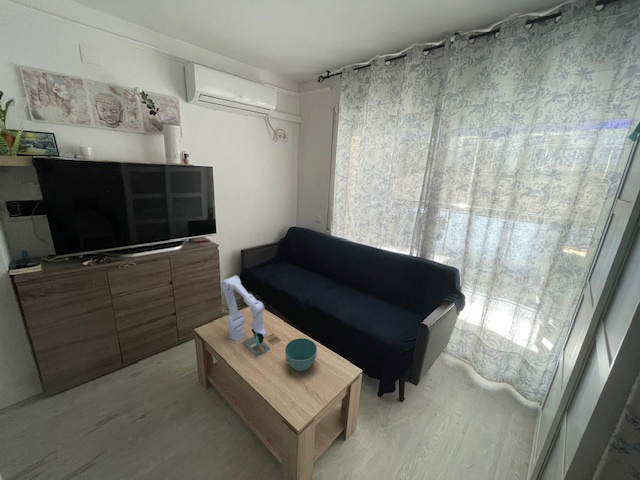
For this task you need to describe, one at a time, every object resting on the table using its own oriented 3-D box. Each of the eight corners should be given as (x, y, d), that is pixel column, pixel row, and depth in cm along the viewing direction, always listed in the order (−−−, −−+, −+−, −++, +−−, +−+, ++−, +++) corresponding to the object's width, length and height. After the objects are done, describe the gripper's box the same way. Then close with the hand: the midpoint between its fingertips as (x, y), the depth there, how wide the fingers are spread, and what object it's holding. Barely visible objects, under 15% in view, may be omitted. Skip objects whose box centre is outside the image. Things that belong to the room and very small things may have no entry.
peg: (254, 343, 152) (254, 332, 150) (260, 340, 155) (259, 329, 153) (258, 346, 149) (257, 335, 147) (263, 343, 152) (263, 332, 150)
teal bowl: (310, 382, 133) (310, 364, 129) (279, 373, 138) (279, 355, 134) (320, 358, 150) (320, 341, 146) (292, 351, 155) (292, 335, 151)
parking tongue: (264, 339, 164) (264, 338, 164) (272, 335, 169) (272, 333, 169) (272, 347, 158) (272, 345, 157) (281, 342, 162) (281, 340, 162)
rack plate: (242, 345, 159) (242, 341, 158) (256, 338, 166) (256, 334, 165) (256, 359, 147) (256, 355, 147) (270, 351, 154) (270, 347, 153)
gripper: (270, 324, 146) (271, 343, 149) (257, 313, 155) (258, 332, 159) (260, 329, 141) (261, 349, 145) (247, 318, 151) (248, 337, 154)
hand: (259, 340), depth 152 cm, fingers closed on peg, 4 cm apart
